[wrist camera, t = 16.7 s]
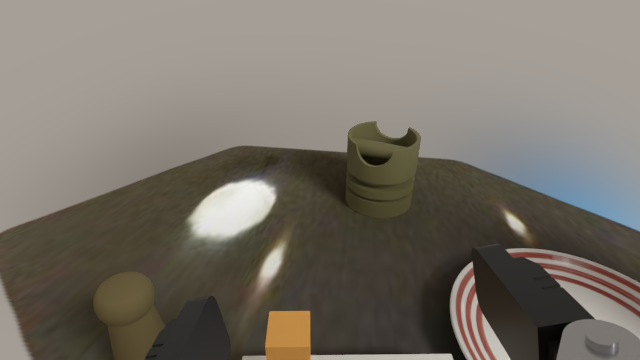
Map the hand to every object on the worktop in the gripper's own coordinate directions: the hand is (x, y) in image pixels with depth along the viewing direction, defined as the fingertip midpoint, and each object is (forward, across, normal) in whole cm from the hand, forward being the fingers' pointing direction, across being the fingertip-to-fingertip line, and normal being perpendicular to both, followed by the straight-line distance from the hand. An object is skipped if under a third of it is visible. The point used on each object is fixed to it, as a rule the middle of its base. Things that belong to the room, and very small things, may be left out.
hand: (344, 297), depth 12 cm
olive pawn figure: (+23, +24, +19) cm, 38 cm away
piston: (+53, -5, +18) cm, 56 cm away
